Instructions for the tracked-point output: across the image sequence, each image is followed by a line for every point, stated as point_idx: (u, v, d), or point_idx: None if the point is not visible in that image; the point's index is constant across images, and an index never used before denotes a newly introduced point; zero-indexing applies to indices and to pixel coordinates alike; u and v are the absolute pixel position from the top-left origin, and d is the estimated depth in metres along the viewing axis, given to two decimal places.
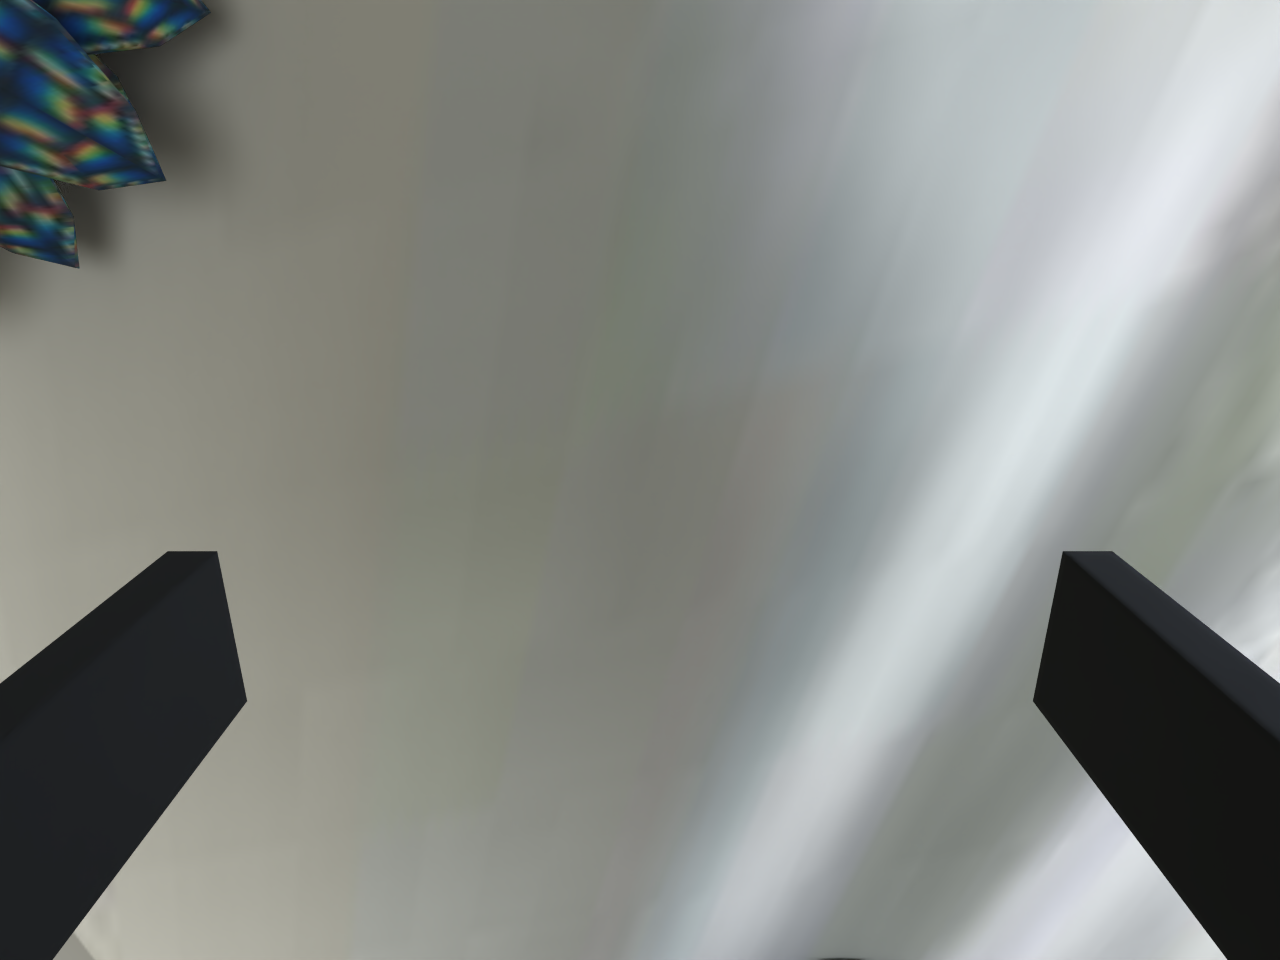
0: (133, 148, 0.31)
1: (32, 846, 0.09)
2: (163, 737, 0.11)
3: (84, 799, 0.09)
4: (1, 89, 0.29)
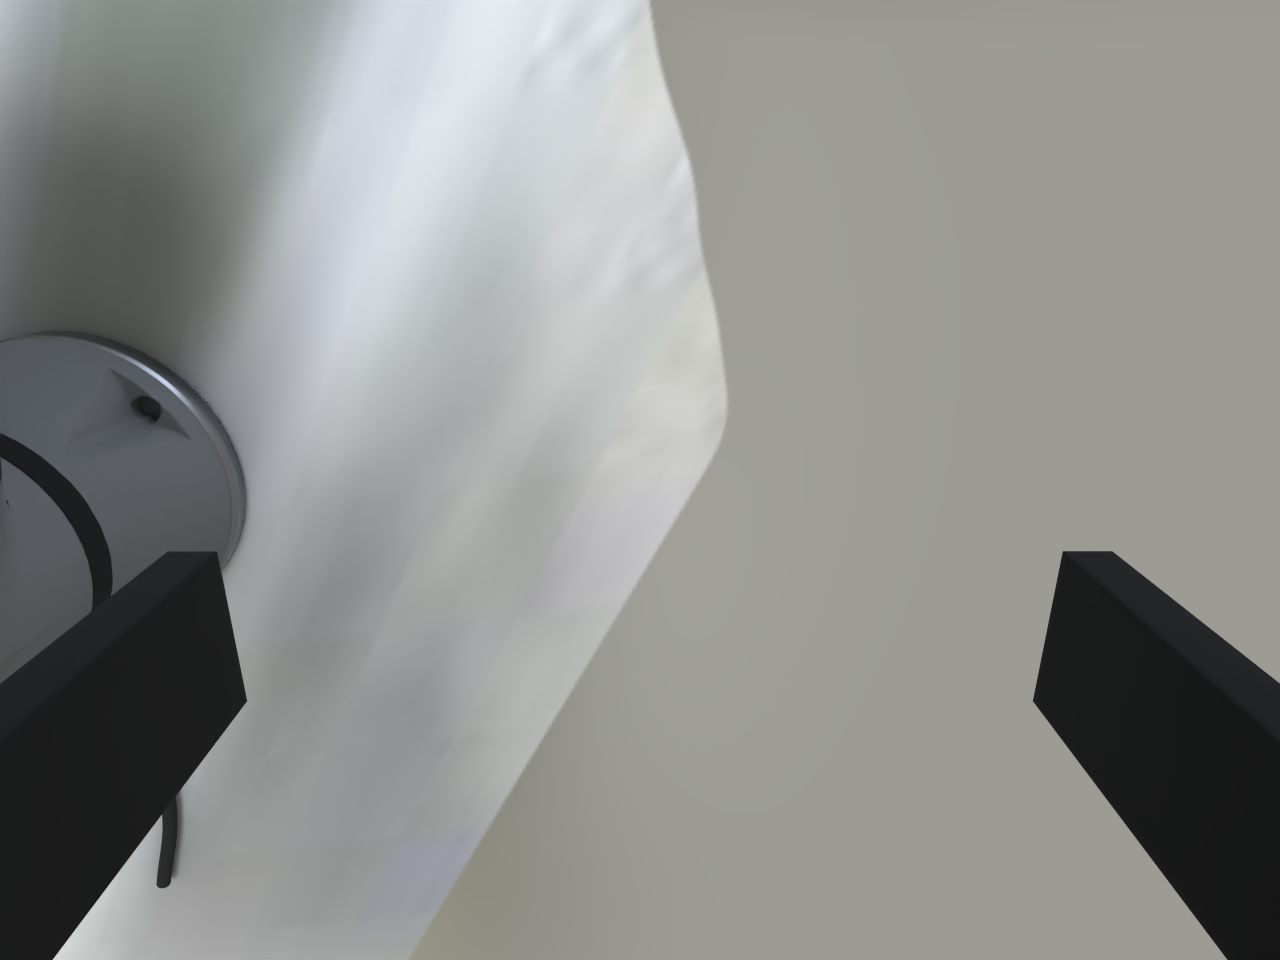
0: None
1: (32, 846, 0.09)
2: (163, 737, 0.11)
3: (82, 798, 0.09)
4: None
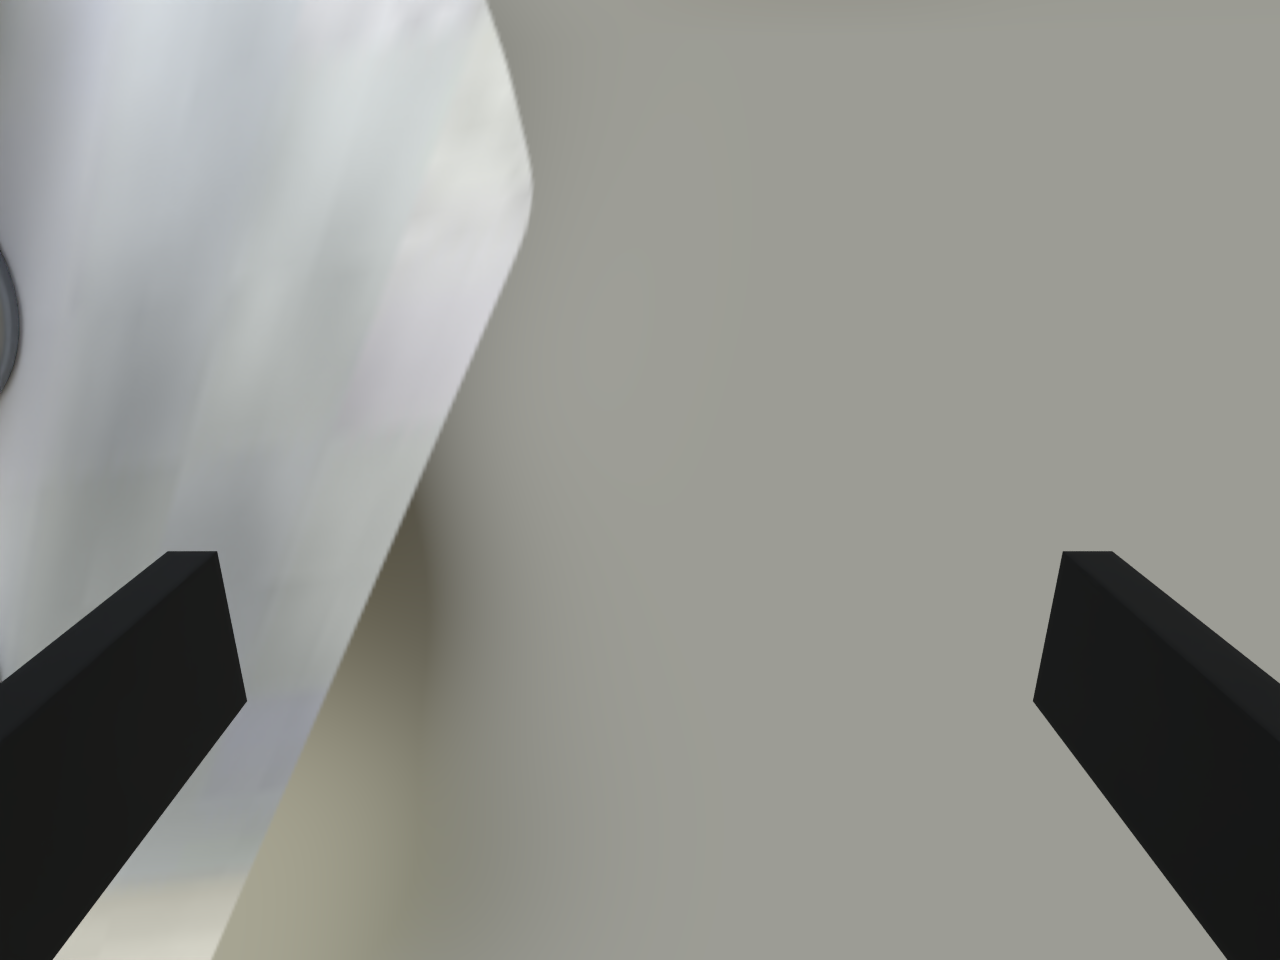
0: None
1: (32, 846, 0.09)
2: (163, 737, 0.11)
3: (82, 799, 0.09)
4: None
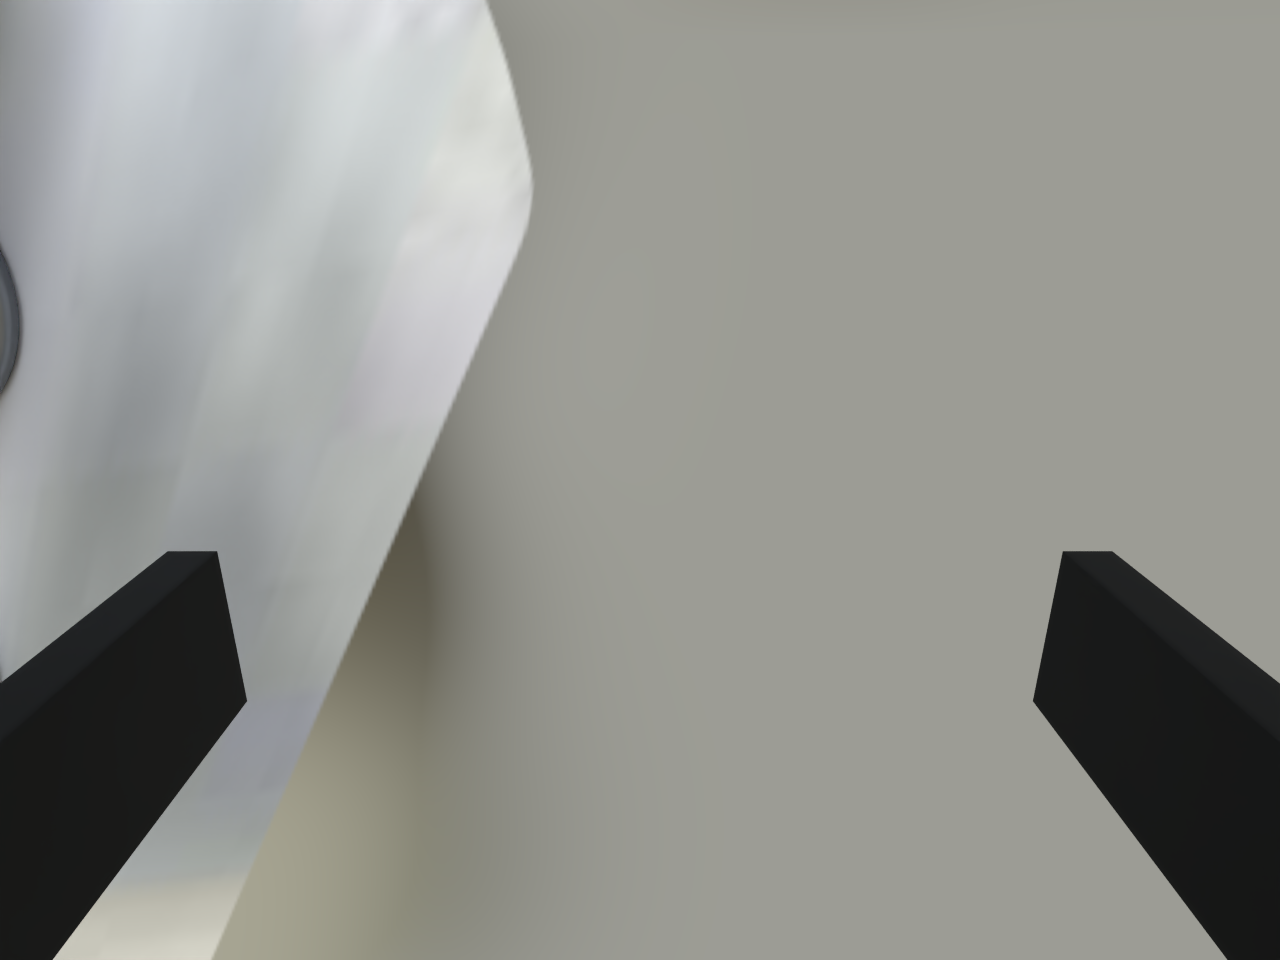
0: None
1: (32, 846, 0.09)
2: (163, 737, 0.11)
3: (82, 799, 0.09)
4: None
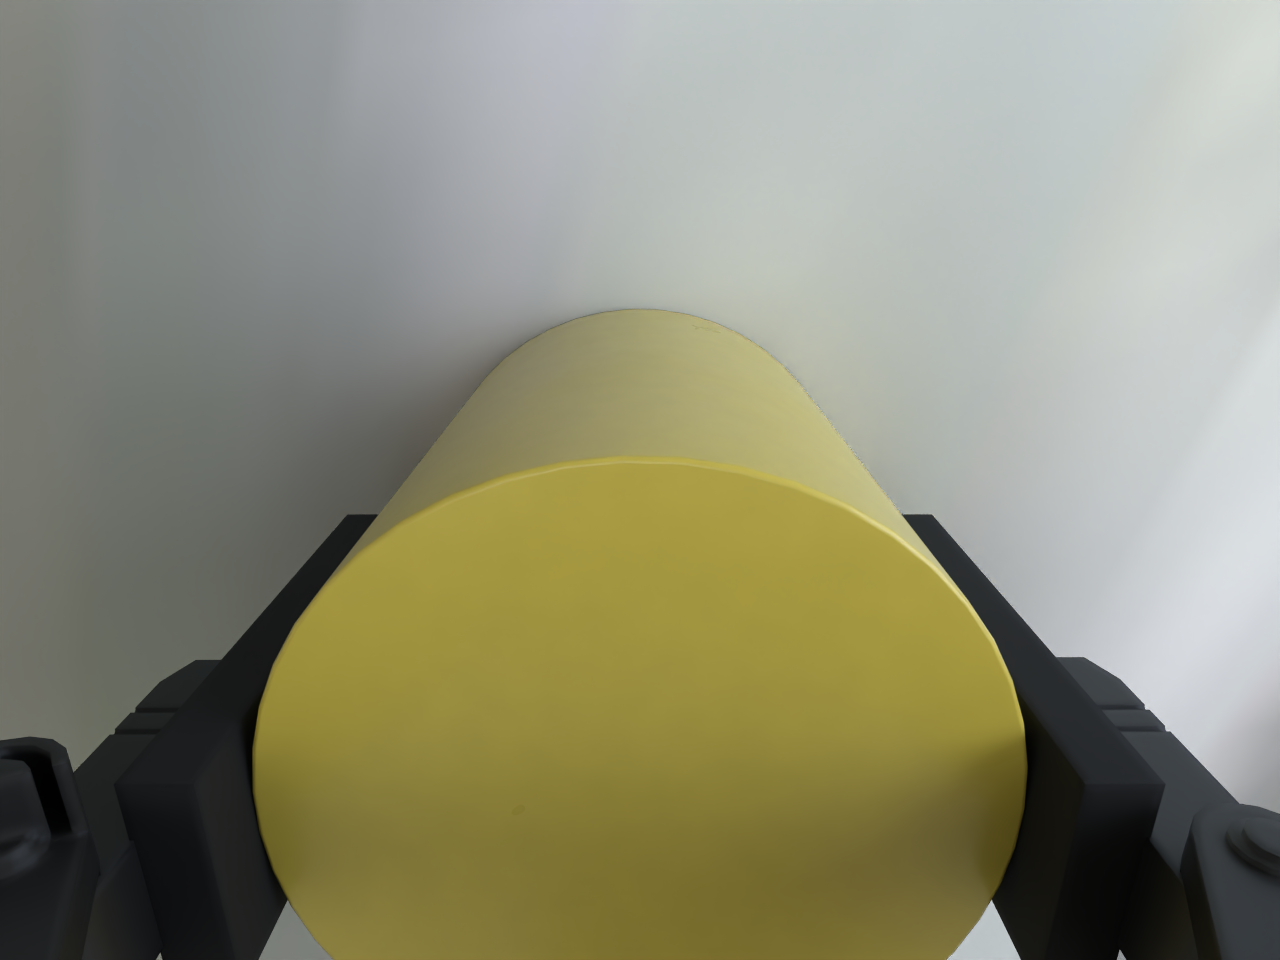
0: None
1: None
2: None
3: None
4: None
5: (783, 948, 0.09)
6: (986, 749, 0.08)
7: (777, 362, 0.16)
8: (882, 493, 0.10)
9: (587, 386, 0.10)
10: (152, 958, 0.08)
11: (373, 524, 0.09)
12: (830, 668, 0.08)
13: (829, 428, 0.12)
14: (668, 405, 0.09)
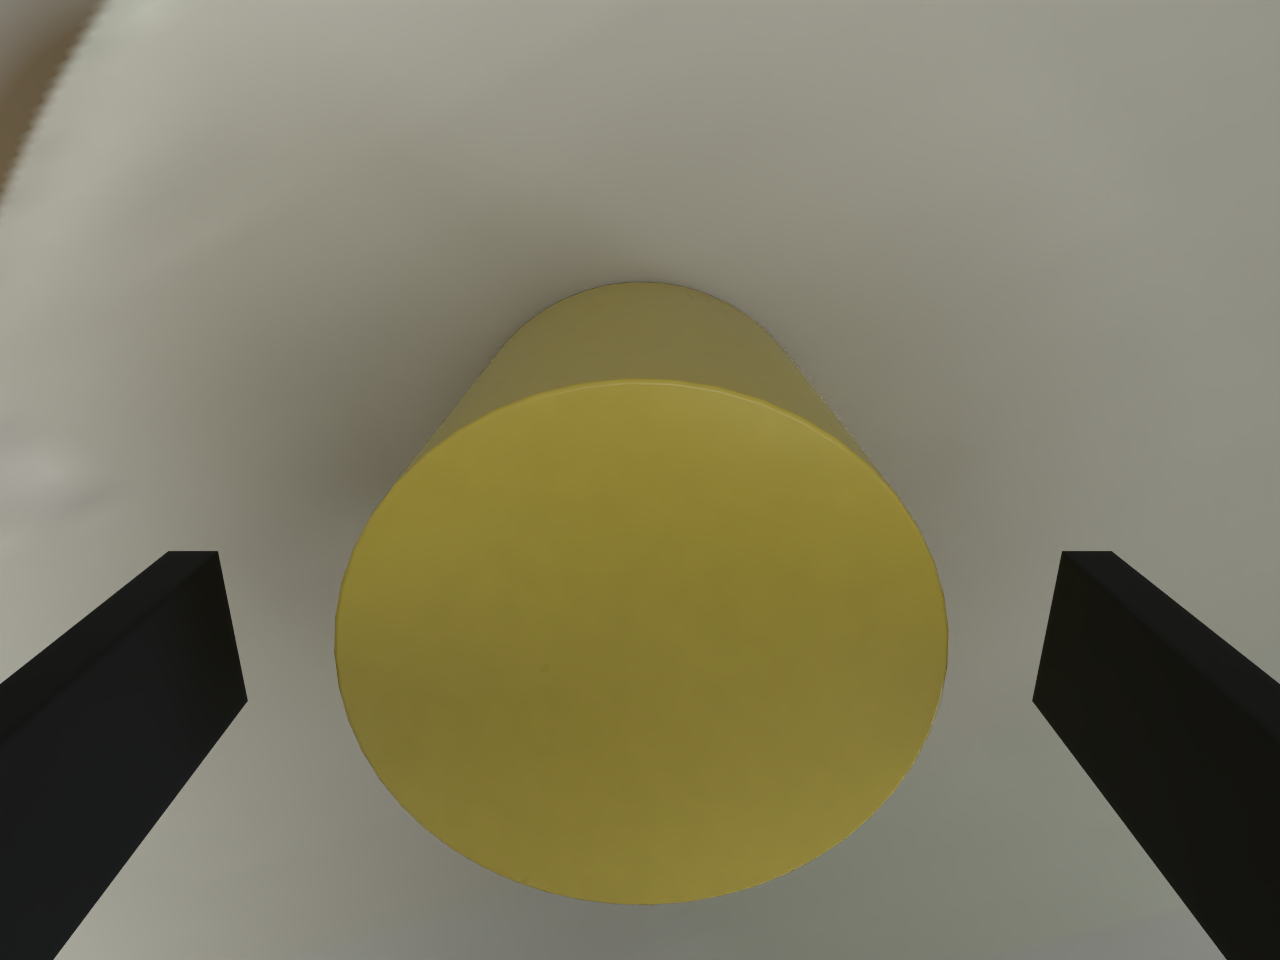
0: None
1: (33, 846, 0.09)
2: (164, 737, 0.11)
3: (83, 799, 0.09)
4: None
5: (756, 787, 0.12)
6: (915, 617, 0.11)
7: (762, 328, 0.18)
8: (839, 423, 0.12)
9: (598, 336, 0.12)
10: None
11: (428, 443, 0.11)
12: (790, 550, 0.10)
13: (800, 377, 0.14)
14: (664, 348, 0.11)
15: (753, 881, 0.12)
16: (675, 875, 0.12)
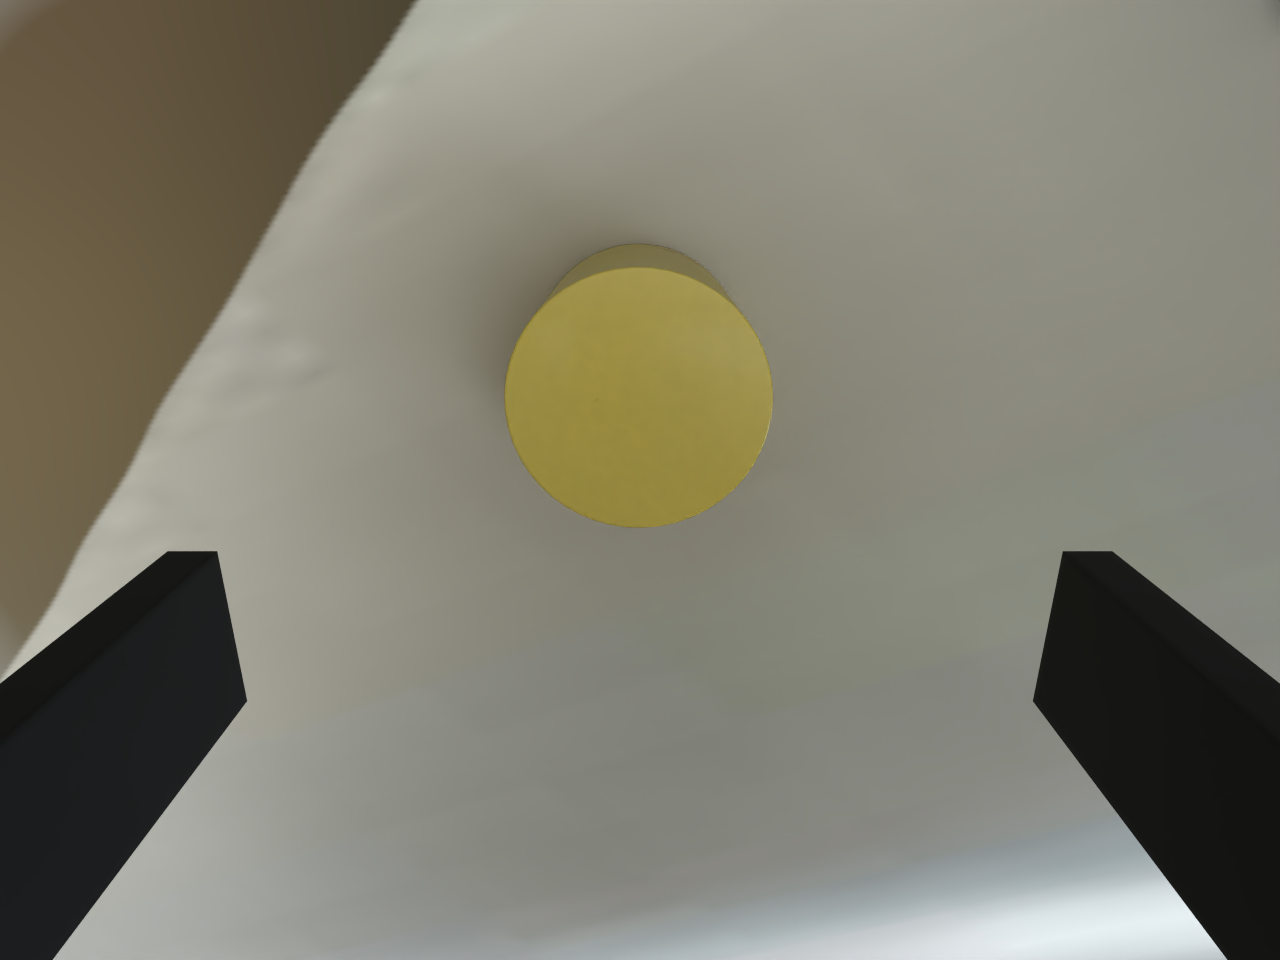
0: None
1: (32, 846, 0.09)
2: (163, 737, 0.11)
3: (83, 798, 0.09)
4: None
5: (691, 462, 0.26)
6: (756, 375, 0.25)
7: None
8: (730, 298, 0.26)
9: (618, 259, 0.27)
10: None
11: None
12: (702, 343, 0.25)
13: (718, 284, 0.28)
14: (648, 261, 0.26)
15: (691, 513, 0.27)
16: (654, 510, 0.26)
